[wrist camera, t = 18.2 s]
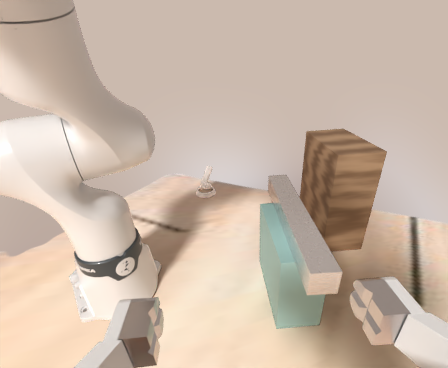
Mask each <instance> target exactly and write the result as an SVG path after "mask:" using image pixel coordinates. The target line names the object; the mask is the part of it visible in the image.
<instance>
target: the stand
mask: <svg viewBox="0 0 448 368" xmlns="http://www.w3.org/2000/svg"><path fill="white" fill-rule="evenodd" d="M386 153H387V152H386V151H385V150H383V149H381V148H379V147H377V146H375V145H373V144H371V143H370V142H368V141H366V140H364V139H362V138H360V137H358V136H356V135H354V134H352V133H351V132H348V131H346V130H345V129H333V130H320V131H307V133H306V143H305V153H304V162H303V173H302V183H301V192H300V193H301V194H300V199H301V201H302V203H303V204H304V206H305V208H306V210H307V211H308V213H309V215H310V216H311V218H312V220H313V222H314V223H315V225H316V227H317V229H318V230H319V232H320V234H321V235H322V237H323V239H324V241H325V242H326V244H327V246H328V247H329V249H330V251H342V250H354V249H361V247H362V243H363V239H364V235H365V232H366V228H367V224H368V220H369V217H370V213H371V209H372V206H373V202H374V198H375V194H376V191H377V187H378V183H379V179H380V175H381V172H382V168H383V164H384V160H385V157H386Z"/></svg>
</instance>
